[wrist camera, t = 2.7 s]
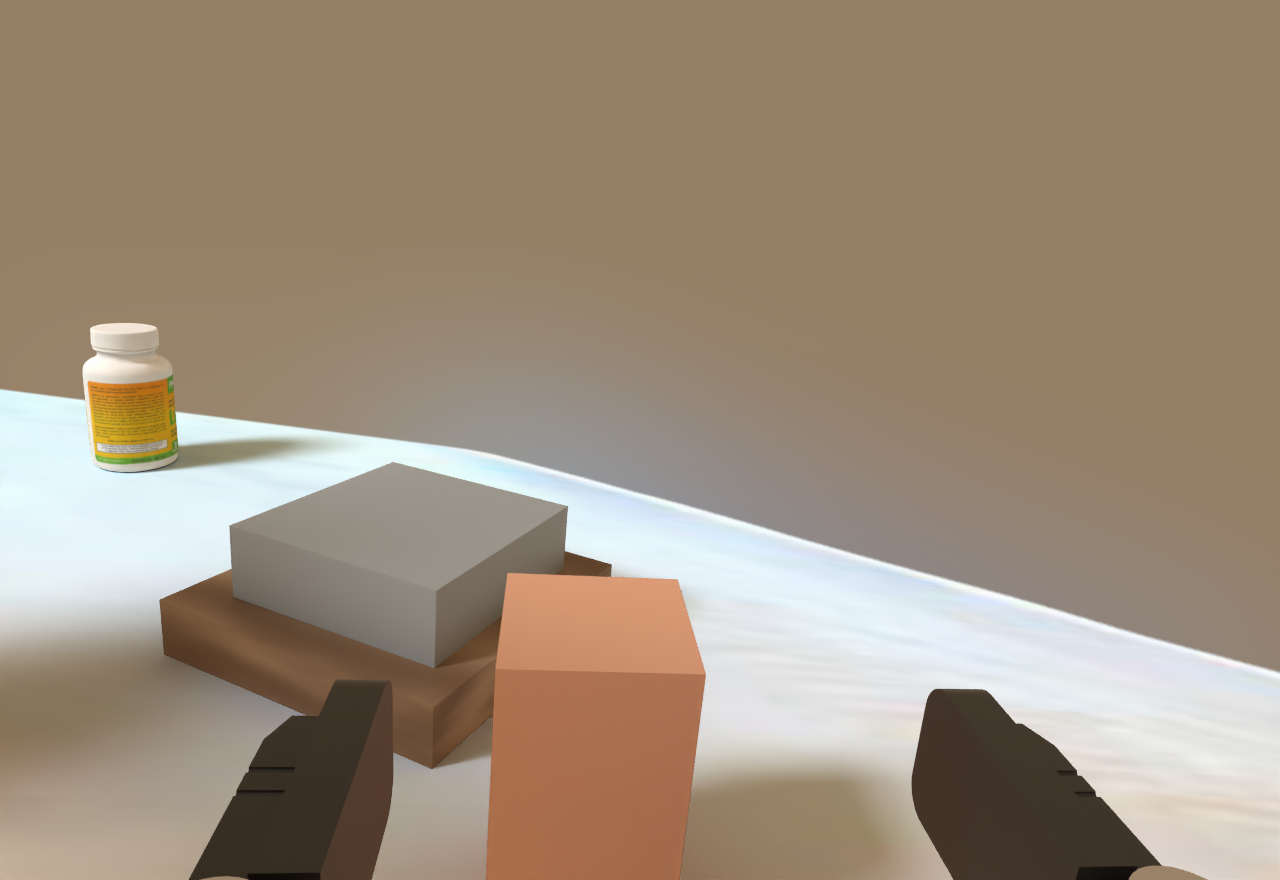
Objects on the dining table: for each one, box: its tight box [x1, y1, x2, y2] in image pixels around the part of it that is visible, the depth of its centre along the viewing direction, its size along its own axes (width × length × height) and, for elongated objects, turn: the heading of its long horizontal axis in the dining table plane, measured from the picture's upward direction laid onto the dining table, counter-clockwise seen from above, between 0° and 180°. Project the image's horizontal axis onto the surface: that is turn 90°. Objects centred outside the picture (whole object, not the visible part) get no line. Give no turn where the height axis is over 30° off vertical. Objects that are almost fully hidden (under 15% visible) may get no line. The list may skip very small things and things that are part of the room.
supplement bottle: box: [83, 323, 178, 472], centre depth 59 cm, size 5×5×10 cm
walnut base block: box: [160, 551, 612, 769], centre depth 41 cm, size 15×15×4 cm
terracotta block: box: [486, 573, 706, 880], centre depth 26 cm, size 6×6×10 cm
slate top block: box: [230, 462, 568, 668], centre depth 40 cm, size 11×11×4 cm
